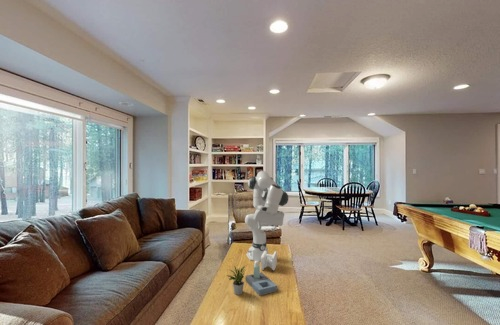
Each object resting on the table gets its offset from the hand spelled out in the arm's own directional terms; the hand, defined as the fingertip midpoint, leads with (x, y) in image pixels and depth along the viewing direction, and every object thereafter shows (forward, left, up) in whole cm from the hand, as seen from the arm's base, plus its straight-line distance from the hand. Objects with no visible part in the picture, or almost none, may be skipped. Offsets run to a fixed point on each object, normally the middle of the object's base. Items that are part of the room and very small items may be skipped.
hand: (265, 230), depth 156 cm
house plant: (-6, -16, -39) cm, 43 cm away
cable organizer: (-29, +19, -40) cm, 53 cm away
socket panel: (-7, 0, -39) cm, 40 cm away
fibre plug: (-13, 0, -39) cm, 41 cm away
